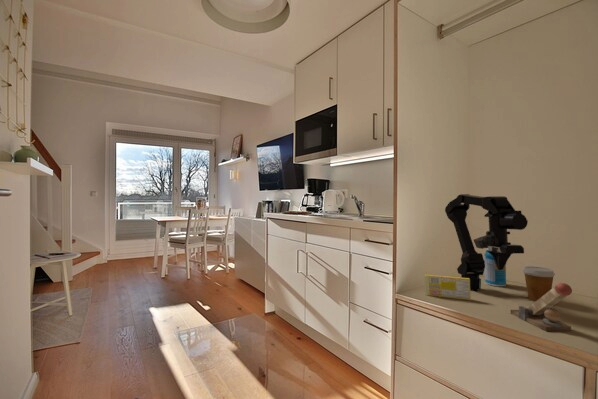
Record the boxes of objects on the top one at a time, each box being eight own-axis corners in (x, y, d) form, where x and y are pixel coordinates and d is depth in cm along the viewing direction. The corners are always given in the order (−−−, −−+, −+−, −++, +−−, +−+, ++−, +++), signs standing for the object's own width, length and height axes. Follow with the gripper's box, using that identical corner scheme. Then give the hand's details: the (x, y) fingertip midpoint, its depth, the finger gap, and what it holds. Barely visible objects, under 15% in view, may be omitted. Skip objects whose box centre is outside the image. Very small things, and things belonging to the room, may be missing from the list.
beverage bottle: (482, 284, 132) (481, 240, 132) (487, 280, 138) (486, 239, 138) (504, 288, 126) (503, 242, 126) (508, 284, 132) (508, 240, 132)
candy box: (470, 299, 113) (469, 277, 113) (470, 300, 111) (470, 279, 111) (425, 293, 120) (424, 273, 120) (425, 295, 118) (424, 275, 118)
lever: (522, 307, 95) (555, 280, 83) (535, 307, 95) (570, 280, 83) (528, 318, 92) (564, 292, 80) (542, 318, 92) (579, 292, 80)
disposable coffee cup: (561, 305, 105) (561, 272, 105) (532, 303, 107) (531, 271, 107) (545, 296, 114) (544, 266, 114) (518, 295, 116) (517, 265, 116)
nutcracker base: (510, 313, 98) (509, 296, 98) (533, 313, 98) (532, 296, 98) (545, 331, 84) (545, 312, 84) (572, 330, 84) (572, 311, 84)
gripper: (463, 228, 120) (465, 265, 119) (491, 230, 101) (493, 274, 101) (491, 227, 120) (493, 265, 119) (523, 229, 101) (526, 274, 100)
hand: (500, 269), depth 109 cm, fingers closed
